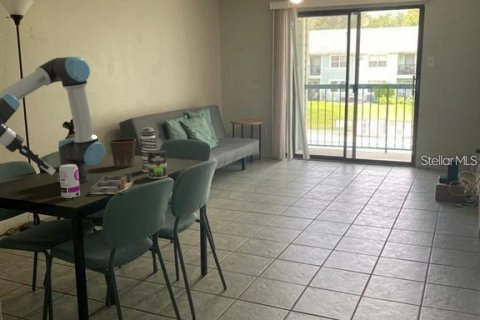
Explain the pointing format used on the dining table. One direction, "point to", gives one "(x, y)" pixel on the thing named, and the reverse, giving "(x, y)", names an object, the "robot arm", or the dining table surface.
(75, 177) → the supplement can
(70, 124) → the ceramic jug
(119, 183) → the beige shallow tray
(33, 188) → the dining table surface
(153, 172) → the coffee can
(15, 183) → the dining table surface
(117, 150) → the plant pot
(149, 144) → the decorative candle
